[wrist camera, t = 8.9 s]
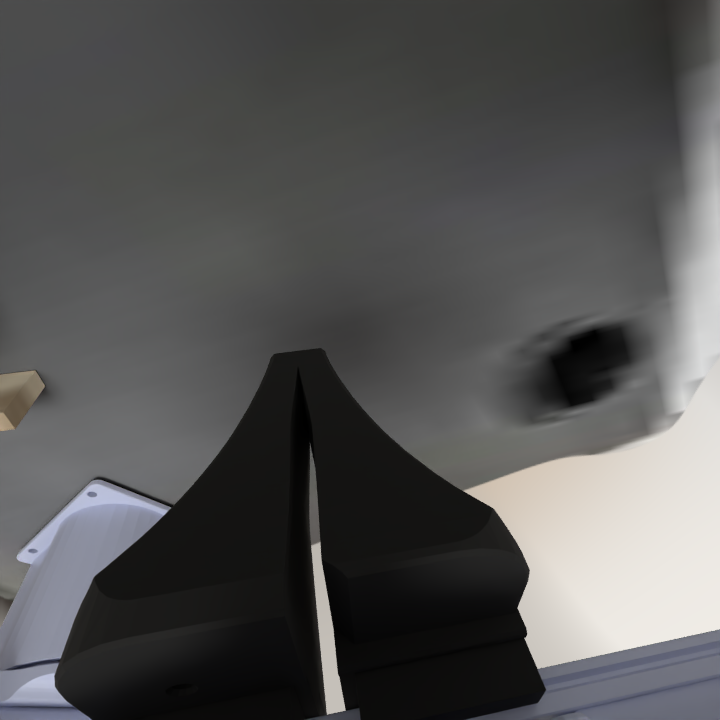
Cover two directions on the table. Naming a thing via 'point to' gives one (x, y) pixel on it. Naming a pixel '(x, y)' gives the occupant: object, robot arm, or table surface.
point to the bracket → (17, 396)
